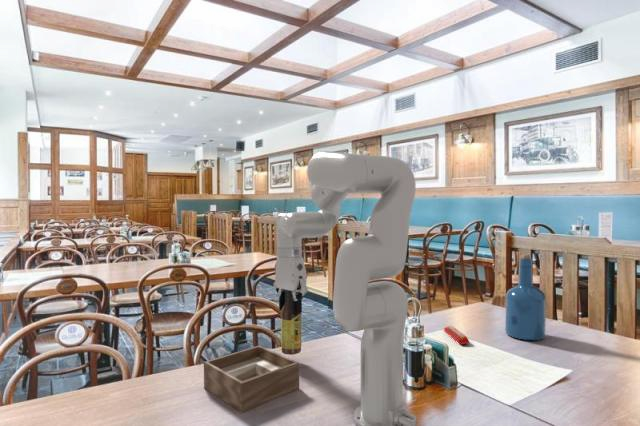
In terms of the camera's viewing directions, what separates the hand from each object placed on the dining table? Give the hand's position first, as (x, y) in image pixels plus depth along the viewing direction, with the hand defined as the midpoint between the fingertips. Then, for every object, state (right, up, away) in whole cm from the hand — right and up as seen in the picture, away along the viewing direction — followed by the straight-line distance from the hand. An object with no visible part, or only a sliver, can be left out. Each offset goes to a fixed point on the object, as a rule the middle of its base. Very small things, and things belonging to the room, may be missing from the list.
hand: (290, 310), depth 128 cm
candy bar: (+58, -16, +22) cm, 64 cm away
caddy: (-9, -17, -17) cm, 25 cm away
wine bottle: (+84, -15, +24) cm, 89 cm away
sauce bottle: (0, -13, 0) cm, 13 cm away
